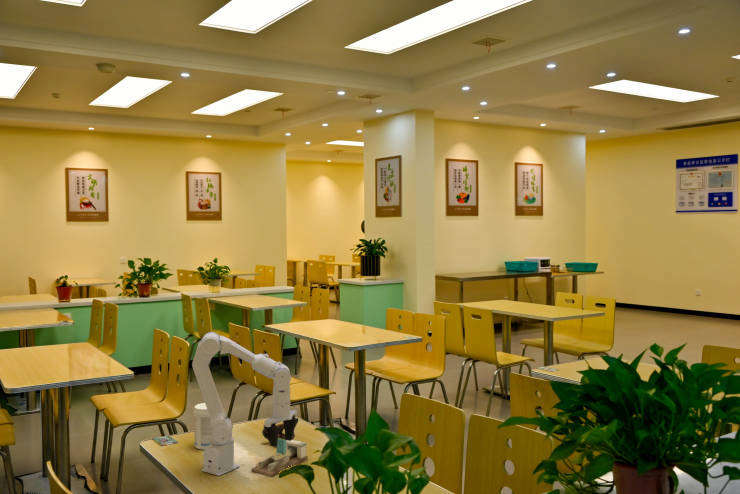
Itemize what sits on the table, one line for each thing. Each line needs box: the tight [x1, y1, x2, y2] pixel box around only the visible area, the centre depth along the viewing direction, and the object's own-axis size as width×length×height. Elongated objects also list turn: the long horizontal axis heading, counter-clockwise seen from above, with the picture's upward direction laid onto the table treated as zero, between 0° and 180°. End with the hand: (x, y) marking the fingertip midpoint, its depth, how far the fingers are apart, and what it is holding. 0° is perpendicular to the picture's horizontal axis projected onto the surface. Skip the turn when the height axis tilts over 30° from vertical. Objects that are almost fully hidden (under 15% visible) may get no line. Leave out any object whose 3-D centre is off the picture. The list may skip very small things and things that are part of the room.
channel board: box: [251, 455, 309, 478], centre depth 210 cm, size 19×8×3 cm, turn 148°
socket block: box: [286, 439, 308, 459], centre depth 217 cm, size 3×7×4 cm, turn 58°
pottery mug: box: [261, 422, 296, 443], centre depth 231 cm, size 12×10×8 cm
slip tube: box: [270, 438, 297, 463], centre depth 213 cm, size 12×3×7 cm, turn 148°
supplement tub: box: [193, 402, 212, 451], centre depth 228 cm, size 10×10×15 cm
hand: (281, 443), depth 210 cm, fingers open, 7 cm apart
